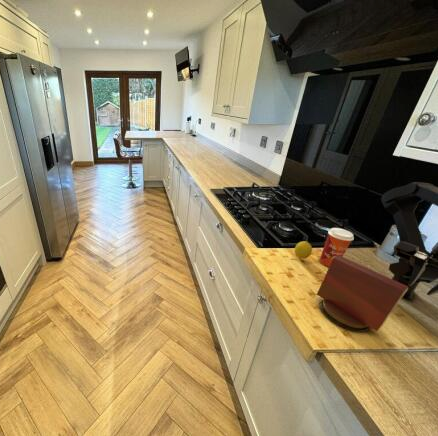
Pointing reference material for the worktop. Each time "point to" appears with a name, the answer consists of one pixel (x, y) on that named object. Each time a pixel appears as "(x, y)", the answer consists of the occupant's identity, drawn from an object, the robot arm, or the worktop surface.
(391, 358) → the worktop surface
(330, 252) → the paper cup
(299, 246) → the lemon
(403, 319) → the worktop surface
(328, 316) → the turntable base
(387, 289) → the book stand
